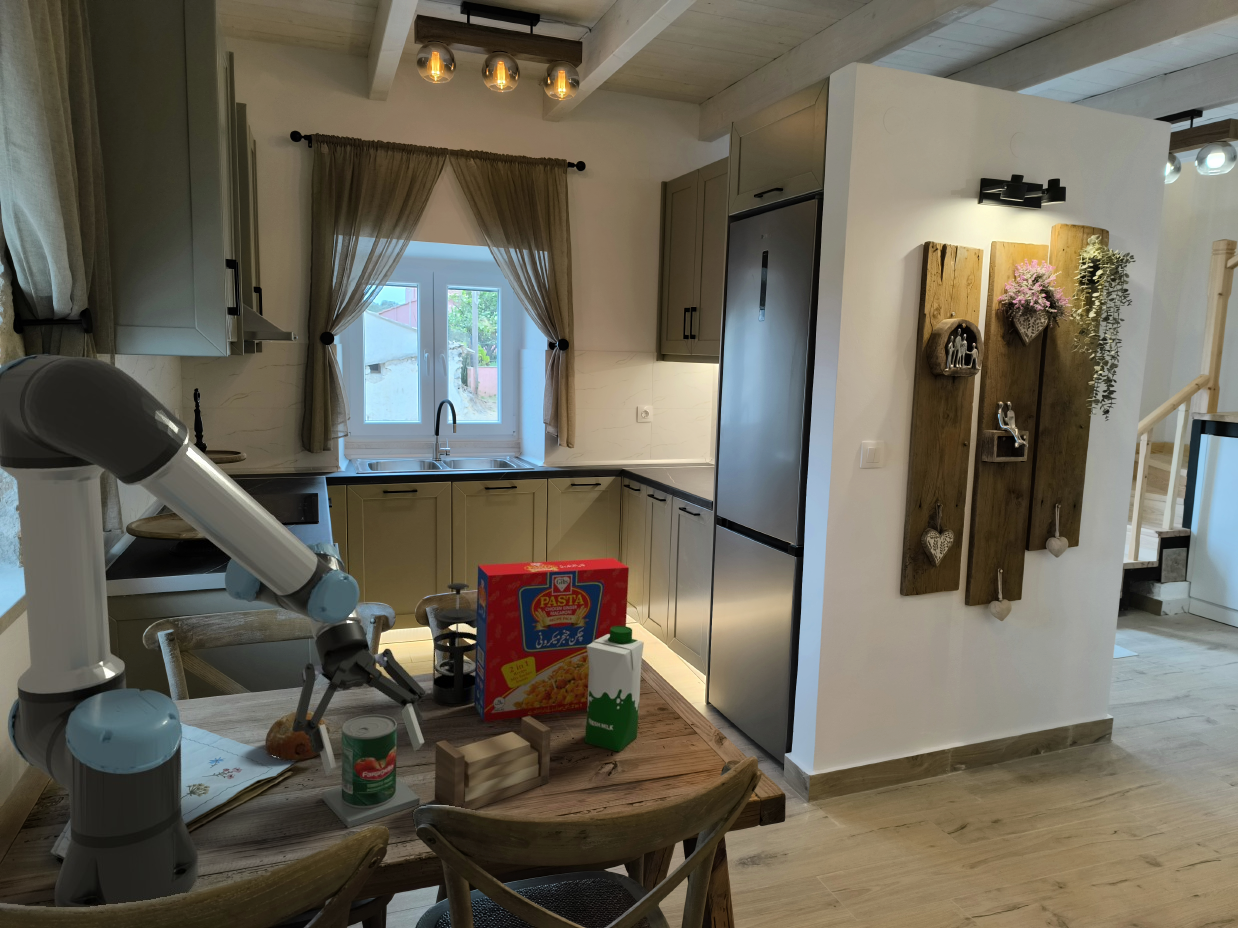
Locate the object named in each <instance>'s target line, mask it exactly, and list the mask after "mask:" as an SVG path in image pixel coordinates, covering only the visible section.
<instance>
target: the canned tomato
mask: <svg viewBox="0 0 1238 928" xmlns="http://www.w3.org/2000/svg"><path fill="white" fill-rule="evenodd" d="M397 727H398V723H397V720H395V719H394V718H393V717H391V716H388V715H385V714H363V715H359V716H356V717H353V718H350V719H348V720H347V721H345V722H344V723H343V724H342V725H341V786H342V796H341V797H342V801H343V802H344V803H345V804H346V805H348V806H350V807H353V808H361V809H365V808H374V807H378V806H381V805H384V804H386V803H388V802H389V801H391V800H392V799H393V798H394V797H395V795H396V777H397V736H398V735H397Z"/></svg>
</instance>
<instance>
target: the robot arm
mask: <svg viewBox="0 0 1238 928" xmlns="http://www.w3.org/2000/svg"><path fill="white" fill-rule="evenodd" d="M0 469H1V470H2V471H4V472H5V473H6V474H8V475H10V476H11V477H13V479H14V480H15V481H16V487H17V501H18V511H19V513H18V514H19V526H20V538H21V551H22V563H23V564H22V566H23V577H24V590H25V606H26V607H25V608H26V617H27V629H28V632H27V633H28V644H29V645H28V646H29V657H30V658H29V659H30V667H29V668H27V669H26V670H25V672H23V673H22V674H21V675H20V676H19V677H18V679H17V684H16V685H17V696H18V697H17V699H15V700H14V702H12V703H13V704H12V705H11V707H10V710H9V714H8V719H7V731H8V736H9V739H10V742H11V744H12V745H13V747H14V749H15V750H16V752H17V753H18V754H19V756H20V757H21V758H22V759H24V761H25V762H26V763H28V764H29V765H31V766H32V767H35V768H37V769H38V770H40V771H41V772H42V773H44V774H45V775H46V776H48V777H49V778H50V779H51V780H53V781H55V782H56V783H57V784H59V785H60V786H61V787H63V788H64V789H65V790H67V791H68V796H69V818H70V819H69V821H70V822H69V823H70V841H69V845H68V847H67V851H66V853H65V856H64V858H63V862H62V864H61V868H60V871H59V872H58V876H57V880H56V882H55V887H54V907H55V906H57V907H90V906H98V905H106V904H118V903H126V902H136V901H143V900H151V899H156V898H160V897H167V896H171V895H175V894H180V893H185V892H187V893H188V892H189V891H190V890H191V888H193V886H194V884H195V883H196V880H198V879H197V878H198V875H199V855H198V852H197V848H196V846H195V843H194V841H193V838H192V836H191V835H190V832H189V830H188V827H187V825H186V823H185V820H184V818H183V816H182V813H183V812H182V738H183V728H182V727H183V726H182V724H181V720H180V711H179V708H178V706H177V704H176V703H175V702H174V701H173V700H172V698H170V697H169V696H167V695H166V694H164V693H162V692H159V691H156V690H152V689H145V690H140V688H127V679H126V665H125V662H124V661H123V660H122V659H120V658H119V657H118V656H116V655H114V654H112V653H111V645H110V644H111V641H110V628H109V626H110V625H109V611H108V593H107V577H106V562H105V561H106V560H105V559H106V558H105V545H104V544H105V543H104V529H103V528H104V526H103V514H102V513H103V511H102V510H103V509H102V508H103V507H102V494H101V478H100V477H101V475H102V474H103V472H104V471H106V472H108V473H110V474H111V475H112V476H113V477H115V478H116V479H117V480H118V481H120V482H121V483H122V484H124V485H125V486H136V485H137V486H139V485H140V486H141V487H142V488H144V489H145V490H146V491H147V492H148V493H150V494H151V495H152V496H153V497H155V498H156V499H158V500H159V502H161V503H162V504H163V505H165V506H166V507H167V508H169V509H170V510H171V511H172V512H174V513H175V514H176V515H177V516H179V517H180V518H181V519H182V520H183V521H185V522H186V523H187V524H189V525H190V526H191V527H193V528H194V529H195V530H196V531H197V532H198V533H200V534H201V535H203V536H204V537H205V538H206V539H207V540H209V541H210V542H211V543H213V544H214V545H215V546H216V547H218V548H219V549H220V550H221V551H222V552H224V553H225V554H226V555H227V556H229V557H230V560H229V562H228V563H227V567H226V571H225V574H224V584H225V589H226V592H227V593H228V595H229V596H230V597H231V598H232V599H234V600H238V601H247V602H248V603H252V602H260V603H265V604H268V605H271V606H274V607H277V608H280V609H282V610H287V611H289V612H292V613H294V614H295V613H296V614H298V615H300V616H303V617H306V618H307V619H308V622H309V625H310V629H311V634H312V636H313V638H314V639H315V642H314V644H315V647H316V651H317V654H318V658H319V661H320V663H321V664H320V665H314V664H313V663H307V664H306V665H305V667H304V669H303V670H302V672H301V678H302V687H301V688H302V689H301V692H300V696H299V700H298V704H297V707H296V711H295V712H296V715H295V719H294V723H293V727H292V730H293V731H294V732H299V731H304V732H305V734H306V735H308V736H309V739H310V743H311V746H312V750H313V752H314V753H318V752H320V754H319V755H320V758H321V762H322V765H323V769H324V772H325V776H330V775H333V773H334V771H335V770H336V769H337V763H336V760H335V755H334V752H333V748H332V745H331V742H330V741H331V740H329V738H328V734H327V730H326V727H325V724H324V725H320V726H318V724H319V722H320V720H321V718H322V719H323V716H324V714H325V712H326V710H327V708H328V706H329V704H330V703H331V700H332V698H333V696H334V695H335V693H336V690H337V689H338V688H339V689H340V690H343V691H345V690H349V689H351V688H360V687H363V686H364V685H366V686H368V687H370V688H374V689H376V690H378V691H379V692H381V693H383V695H384V696H386V697H388V698H389V699H391V700H392V701H394V702H396V703H397V704H399V705H400V706H402V707H403V709H402V711H401V715H402V718H403V721H404V725H405V727H406V730H407V733H408V737H409V740H410V743H411V746H412V749H413V751H417V750H419V749H420V748H422V746H423V744H424V743H425V740H424V737H423V734H422V731H421V728H420V725H421V724H422V723H423V717H422V715H421V713H420V708H419V706H418V703H420V702H421V701H423V698H424V697H425V696H426V695H427V692H426V690H425V689H424V688H423V687H422V686H421V685H420V684H419V683H418V682H417V680H415V678H414V677H413V676H411V674H410V673H409V672H408V671H407V670H406V669H405V668H404V667H403V666H402V665H401V664H400V663H399V662H398V661H397V660H396V658H395V656H394V654H393V652H392V650H391V649H390V648H385V649H384V650H383V651H382V652H380V653H376V654H373V652H371V649H370V645H369V641H368V639H367V635H366V632H365V630H364V626H363V625H362V619H361V617H360V614H359V611H358V604H359V600H360V588H359V584H358V582H357V580H356V579H355V578H354V576H352V575H351V574H348V573H347V572H346V566H345V564H344V562H343V560H342V558H341V556H340V553H339V552H338V549H337V548H336V547H335V546H334V545H333V544H332V543H329V542H322V541H321V542H318V543H310V544H309V543H308V544H305V543H303V541H302V540H300V539H299V538H298V537H297V536H296V535H295V534H294V533H292V532H291V531H290V530H289V529H288V528H287V527H286V526H285V525H284V524H282V522H281V521H279V520H278V519H277V518H276V517H275V516H274V515H272V514H271V513H270V512H269V511H268V510H267V509H266V508H265V507H263V505H261V504H260V503H259V502H258V501H257V500H256V499H255V498H253V496H251V495H250V494H249V493H248V492H247V491H245V490H244V489H243V487H241V486H240V485H239V484H238V483H237V481H235V480H233V478H231V477H230V476H229V475H228V474H227V473H226V472H225V471H224V470H223V469H222V468H220V467H219V466H218V465H217V464H216V463H215V462H213V460H211V458H209V456H207V454H205V453H204V452H202V451H201V450H200V448H198V447H197V446H196V445H195V444H194V443H193V442H192V441H190V430H189V428H188V427H187V425H186V424H185V423H184V422H183V421H181V420H180V419H179V418H178V417H177V416H176V415H174V413H173V412H171V411H170V410H169V409H168V408H167V407H166V406H165V405H164V404H163V403H161V402H160V401H159V400H158V399H157V398H156V396H154V395H153V394H152V393H151V392H150V391H148V390H147V389H146V388H145V387H144V386H143V385H141V384H140V383H139V382H138V381H137V380H136V379H134V378H133V377H132V376H130V375H129V373H126V372H125V371H124V370H122V369H121V368H119V367H118V366H114V365H113V364H111V363H109V362H106V361H104V360H102V359H97V358H94V357H93V358H92V357H86V356H85V357H84V356H83V357H82V356H74V357H73V356H65V355H54V354H48V353H44V354H33V355H30V356H29V355H28V356H24V357H20V358H17V359H13V360H12V361H8V362H7V363H5V364H4V365H2V366H1V367H0ZM375 664H378V667H379V668H383V670H384V671H385V673H386V674H387V675H389V677H390V678H391V679H390V678H389V677H387V676H386V675H384V674H383V672H382V671H381V670H379V669H378V668H377V667H376V666H375ZM320 675H321V676H322V677H323V678H324V679H326V680H327V681H329V684H328V686H327V688H326V690H325V691H324V694H323V695H322V698H321V699H320V701H319V703H318V704H317V707H316V709H315V710H314V712H313V713H314V714H313V716H312V718H311V720H308V719H306V716H307V712H309V706H310V704H311V703H310V702H311V699H312V695H313V690H314V686H315V684H316V683H315V682H316V681H317V680H318V678H319V676H320Z"/></svg>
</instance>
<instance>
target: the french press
mask: <svg viewBox="0 0 1238 928" xmlns="http://www.w3.org/2000/svg"><path fill="white" fill-rule="evenodd" d="M469 587H470V586H469V585H468V584H467V583H461V582H454V583H449V584H448V585H447V587H446V588H448V589H449V590H454V591H455V595H456V608H447V609H442V610H439V611H437V612H435V613H434V615H433V616H434V617H433V618H434V619H435V620H436V623H435V626H436V628H437V629H438V630H441V631H443V630H444V631H445V630H446V629H448V628H450V627H451V626H453V625H455V630H454V629H453V630H449V631H448V632H444V633H441V634H438V635H435V637H434V638H433V657H432V658H433V661H432V664H433V665H432V671H433V672H432V692H431V700H432V702H433V703H435V704H437V705H439V706H445V707H462V706H468V705H472V704H474V701H475V675H474V673H475V663H476V661H474V660H470V659H466V658H465V656H464V655H465V653H469V652H472V651H476V633H473V632H469V631H468V632H467V631H459V624H465V625H468V626H469V627H470V628H473V629H476V625H477V610H473V609H469V608H459V603H460V600H459V598H460V595H461V592H462V591H461V590H466V589H469ZM460 639H464V640H465V639H466V640H471V641H474V642H473V643H470V644H466V645H459V644H460V643H459V641H460ZM445 640H448V645H444V644H440V643H439V642H441V641H445ZM436 650H437V651H439V652H441V653H446V654H447V653H448V655H447V656H448V657H447V659H445V660H441V661H439V662H436ZM436 673H437V674H438V676H436Z"/></svg>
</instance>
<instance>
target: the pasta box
mask: <svg viewBox="0 0 1238 928" xmlns="http://www.w3.org/2000/svg"><path fill="white" fill-rule="evenodd" d="M629 569H630V567H629V566H627V565H626V564H624V563H622V562H620V561H618V560H617V559H615V558H611V557H610V558H594V559H593V558H592V559H577V560H576V559H574V560H571V559H570V560H554V561H553V560H552V561H551V560H550V561H534V562H518V563H517V562H516V563H497V564H496V563H495V564H479V565H477V587H476V588H477V594H476V611H477V625H476V628H475V629H476V630H475V631H476V633H475V635H476V641H475V643H476V649H475V672H474V674H475V675H474V676H475V701H474V703H473V705H474V708H475V709H476V711H477V712H478V714H479V715H480V717H481V719H482V721H483V723H485V722H486V723H487V722H493V721H495V722H496V721H502V720H511V719H518V718H519V719H520V718H524V717H527V716H530V717H534V716H542V715H548V714H549V715H550V714H559V713H564V712H573V711H582V710H587V703H588V679H589V660H588V652H587V645H589V644H591V643H593V641H595V640H597V639H599V638H601V637H603V636H605V635H607V634H610V628H611V627H614V626H626V627H627V615H628V613H627V612H628V593H629V592H628V591H629V573H630V572H629V571H630V570H629Z"/></svg>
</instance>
